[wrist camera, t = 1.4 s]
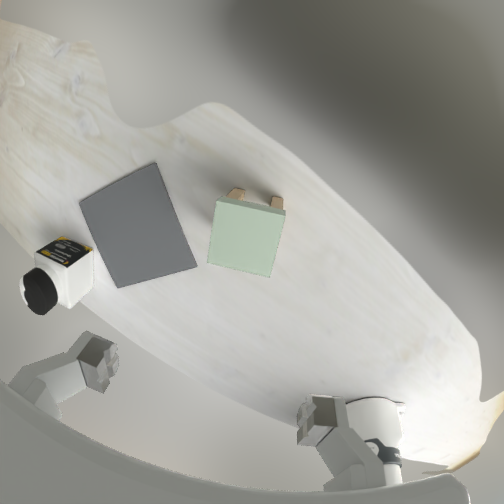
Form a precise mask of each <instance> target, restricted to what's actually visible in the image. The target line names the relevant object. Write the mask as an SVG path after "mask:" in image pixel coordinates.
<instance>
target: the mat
mask: <svg viewBox="0 0 504 504" xmlns="http://www.w3.org/2000/svg"><path fill="white" fill-rule="evenodd" d="M79 205H80V207H81V210H82V212H83V215H84V217H85V220H86V222H87V225H88V227H89V230H90V232H91V234H92V236H93V239H94V241H95V243H96V245H97V248H98V250H99V252H100V254H101V256H102V258H103V261H104V263H105V265H106V267H107V269H108V271H109V273H110V275H111V277H112V279H113V281H114V283H115V285H116V286H117V288H121V287H125V286H129V285H132V284H136V283H140V282H143V281H147V280H151V279H155V278H158V277H162V276H166V275H169V274H173V273H177V272H181V271H184V270H188V269H192V268H195V267H197V264H196V261H195V259H194V257H193V254H192V252H191V250H190V247H189V245H188V243H187V240H186V238H185V235H184V233H183V231H182V228H181V226H180V223H179V221H178V218H177V216H176V213H175V211H174V208H173V206H172V203H171V201H170V198H169V195H168V193H167V190H166V188H165V185H164V182H163V180H162V177H161V174H160V172H159V169H158V166H157V163H154V164H152V165H149V166H147V167H145V168H143V169H141V170H139V171H137V172H135V173H133V174H131V175H129V176H127V177H125V178H123V179H121V180H119V181H117V182H116V183H114V184H112V185H110V186H108V187H106V188H104V189H103V190H101V191H99V192H97V193H95V194H94V195H92V196H90V197H88V198H87V199H85V200H83V201H82V202H80V203H79Z"/></svg>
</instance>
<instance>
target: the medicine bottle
mask: <svg viewBox="0 0 504 504" xmlns="http://www.w3.org/2000/svg"><path fill="white" fill-rule="evenodd" d="M34 259H35V268H33V269H32V270H30V271H29V272H28V273H26V274H25V275H23V276H22V277H21V278H20V283H19V288H20V292H21V295H22V298H23V300H24V302H25V303H26V305H27V306H28V307H29V308H30V309H31V310H32V311H33V312H34V313H36V314H38V315H45V314H46V313H47V312H48V311H49V310H50V309H52V308H53V307H54V306H55V305H56V304H57V303H59V304H61V305H63V306H65V307H66V308H68V309H71V308H72V307H73V306H74V305H75V304H76V303H77V302H78V301H79V300H80V299H81V298H82V297H84V296H85V295H86V294H87V293H88V292H89V291H90V290H91V289H92V288H93V287H94V250H93V248H90V247H88V246H85V245H83V244H80V243H78V242H75V241H73V240H70V239H68V238H65V237H60V238H58V239H57V240H55V241H53V242H51V243H50V244H48V245H46V246H45V247H43V248H41V249H40V250H38V251H36V252H35V253H34Z"/></svg>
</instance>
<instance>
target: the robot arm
mask: <svg viewBox="0 0 504 504" xmlns="http://www.w3.org/2000/svg"><path fill="white" fill-rule="evenodd" d="M117 350H118V348H117V344H115V343H113V342H111V341H108V340H106V339H104V338H102V337H100V336H97V335H95V334H93V333H91V332H89V331H85V332H84V333H82V335H81V336H80V337H79V338H78V340H77V341H76V342H75V343H74V344H73V346H72V347H71V348H70V349H69V351H68V352H67V353H64V352H63V353H61V354H58V355H55V356H52V357H49V358H47V359H44V360H41V361H38V362H35V363H32V364H29V365H26V366H24V367H22V368H21V369H20V371H19V372H18V373H17V374H16V376H15V377H14V378H13V379H12V381H11V382H10V383H9V384H8V385H7V384H5V383H4V382H3V381H1V379H0V504H471V503H470V497H469V494H468V491H467V488H466V487H465V486H464V485H463V484H462V483H461V482H460V481H459V480H458V479H457V478H456V477H454V476H453V475H452V474H450V473H443V474H440V475H436V476H432V477H428V478H425V479H420V480H416V481H411V482H406V483H403V482H402V476H401V471H400V468H401V467H402V464H401V456H400V452H399V450H398V448H399V446H400V445H401V443H402V441H403V440H404V433H403V428H402V424H401V418H402V416H403V413H404V411H405V409H406V407H405V404H404V403H394V402H392V401H390V400H388V399H385V398H367V399H361V400H357V401H354V402H351V403H348V404H345V399H344V398H343V397H334V396H327V395H317V394H309V395H308V396H307V398H306V403H304V404H302V405H301V407H300V408H299V411H298V415H297V424H298V425H299V427H300V429H299V430H298V432H297V445H305V446H315V447H316V449H317V451H318V452H319V454H320V455H321V457H322V459H323V460H324V462H325V463H326V465H327V467H328V468H329V470H330V471H331V473H332V474H333V476H334V478H333V479H331V480H330V481H328V482H327V483H326V484H324V491H318V492H315V491H314V492H313V491H312V492H310V491H283V490H270V489H260V488H252V487H244V486H237V485H231V484H226V483H221V482H215V481H211V480H206V479H202V478H197V477H194V476H190V475H186V474H182V473H178V472H175V471H172V470H168V469H165V468H162V467H159V466H156V465H153V464H150V463H147V462H144V461H142V460H139V459H136V458H134V457H131V456H129V455H126V454H124V453H121V452H119V451H117V450H114V449H112V448H110V447H108V446H105V445H103V444H101V443H99V442H97V441H95V440H93V439H91V438H89V437H87V436H85V435H83V434H81V433H79V432H77V431H76V430H74V429H72V428H70V427H68V426H66V425H65V424H63V423H62V422H60V421H59V420H60V419H61V417H62V413H61V411H60V410H59V408H58V406H57V404H58V403H60V402H62V401H64V400H65V399H67V398H69V397H71V396H73V395H74V394H76V393H78V392H80V391H82V390H84V389H85V388H87V387H89V388H92V389H94V390H96V391H98V392H101V393H103V394H104V392H105V390H106V389H107V387H108V385H109V384H110V381H109V378H110V377H112V376H114V375H115V373H116V372H117V369H118V366H119V356H118V355H117V354H116V351H117Z"/></svg>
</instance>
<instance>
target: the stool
mask: <svg viewBox="0 0 504 504" xmlns="http://www.w3.org/2000/svg"><path fill="white" fill-rule="evenodd" d="M244 192H245V190H242V189H237V188H234V189H233V190H232V191H231V192H230V193H229V194H228V195H227V196H226V197H223V196H221V197H220V198H219V199H218V200H217V201H216V206H215V213H214V219H213V225H212V232H211V238H210V245H209V252H208V259H207V263H210V264H214V265H218V266H222V267H226V268H231V269H235V270H239V271H243V272H248V273H252V274H256V275H261V276H265V277H269V278H270V275H271V271H272V267H273V263H274V260H275V256H276V252H277V248H278V244H279V240H280V236H281V232H282V228H283V224H284V220H285V210H283V199H282V198H278V197H274V196H273V198H272V202H271V206H270V207H269V206H264V205H260V204H255V203H251V202H246V201H243V197H244Z"/></svg>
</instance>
